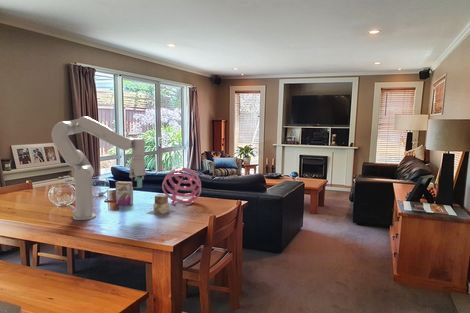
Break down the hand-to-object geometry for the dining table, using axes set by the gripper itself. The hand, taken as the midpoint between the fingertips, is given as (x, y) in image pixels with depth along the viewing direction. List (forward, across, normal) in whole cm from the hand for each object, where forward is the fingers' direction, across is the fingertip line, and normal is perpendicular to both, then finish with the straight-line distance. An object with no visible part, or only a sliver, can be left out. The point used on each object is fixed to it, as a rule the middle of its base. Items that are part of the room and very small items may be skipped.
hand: (137, 185), depth 204 cm
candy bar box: (+19, -17, -25) cm, 36 cm away
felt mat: (+18, -11, +11) cm, 24 cm away
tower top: (+12, -11, +11) cm, 19 cm away
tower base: (+18, -11, +11) cm, 23 cm away
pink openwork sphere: (+18, -39, +10) cm, 44 cm away
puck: (+1, 0, 0) cm, 1 cm away
